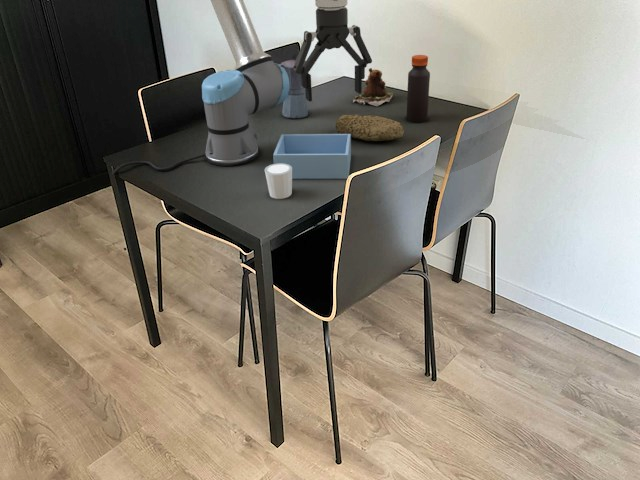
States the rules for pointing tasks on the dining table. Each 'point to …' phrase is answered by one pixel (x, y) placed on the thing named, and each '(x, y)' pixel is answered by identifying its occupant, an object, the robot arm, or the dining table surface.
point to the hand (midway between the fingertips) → (333, 96)
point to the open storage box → (315, 155)
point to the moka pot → (294, 93)
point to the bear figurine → (374, 90)
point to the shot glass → (279, 180)
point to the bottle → (418, 89)
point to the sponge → (369, 127)
